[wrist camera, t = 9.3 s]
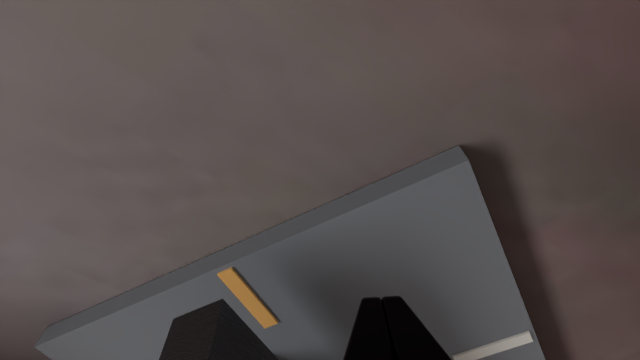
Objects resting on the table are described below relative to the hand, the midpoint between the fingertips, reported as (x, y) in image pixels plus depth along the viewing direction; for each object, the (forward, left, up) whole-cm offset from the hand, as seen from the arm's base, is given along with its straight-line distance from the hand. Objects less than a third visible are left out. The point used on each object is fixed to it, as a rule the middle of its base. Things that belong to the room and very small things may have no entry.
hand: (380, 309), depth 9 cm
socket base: (-10, +6, -6) cm, 12 cm away
